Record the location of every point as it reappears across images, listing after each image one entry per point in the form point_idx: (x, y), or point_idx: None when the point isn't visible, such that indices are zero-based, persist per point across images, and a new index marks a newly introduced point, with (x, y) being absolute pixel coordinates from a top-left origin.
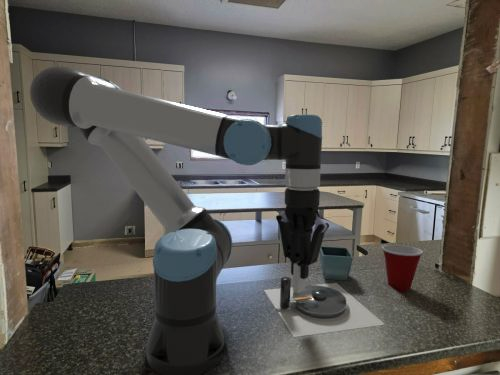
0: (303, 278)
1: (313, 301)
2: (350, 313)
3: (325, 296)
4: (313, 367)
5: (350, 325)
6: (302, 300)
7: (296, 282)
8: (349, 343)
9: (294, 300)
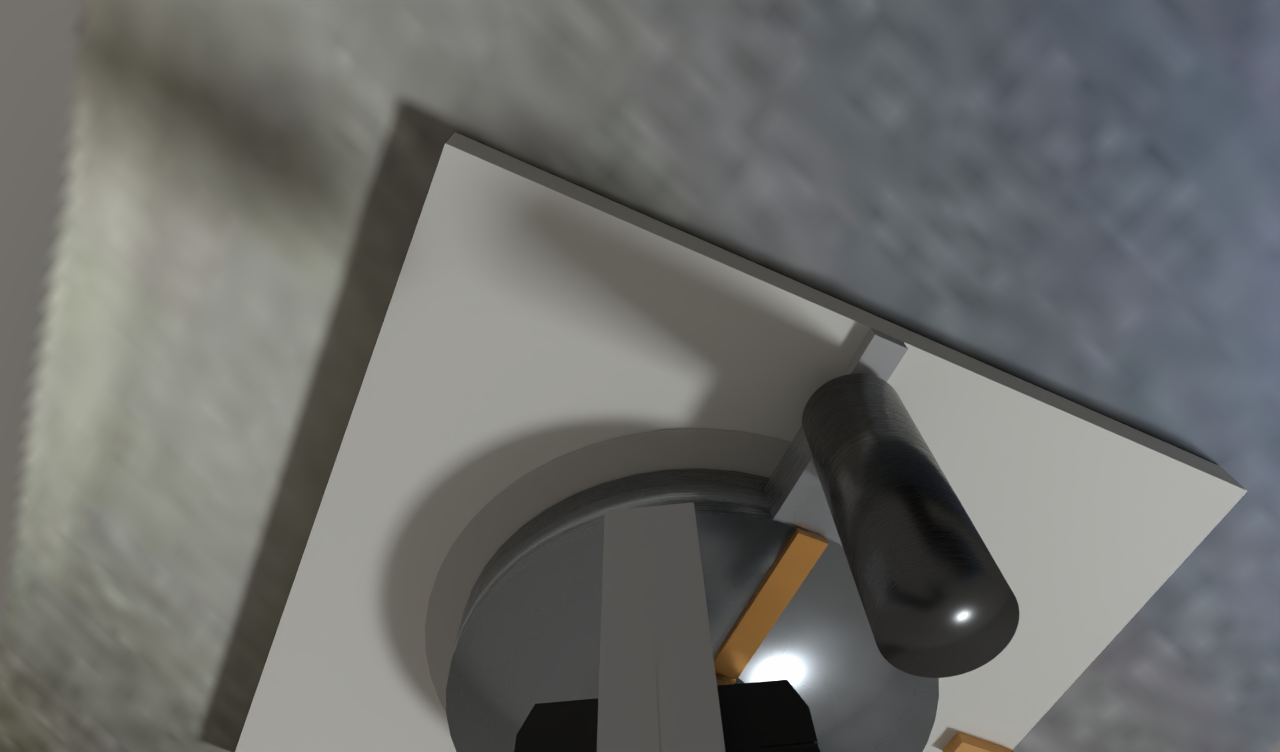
0: (542, 712)
1: None
2: None
3: None
4: (89, 11)
5: (330, 623)
6: (746, 574)
7: (639, 604)
8: (221, 475)
9: (805, 524)
